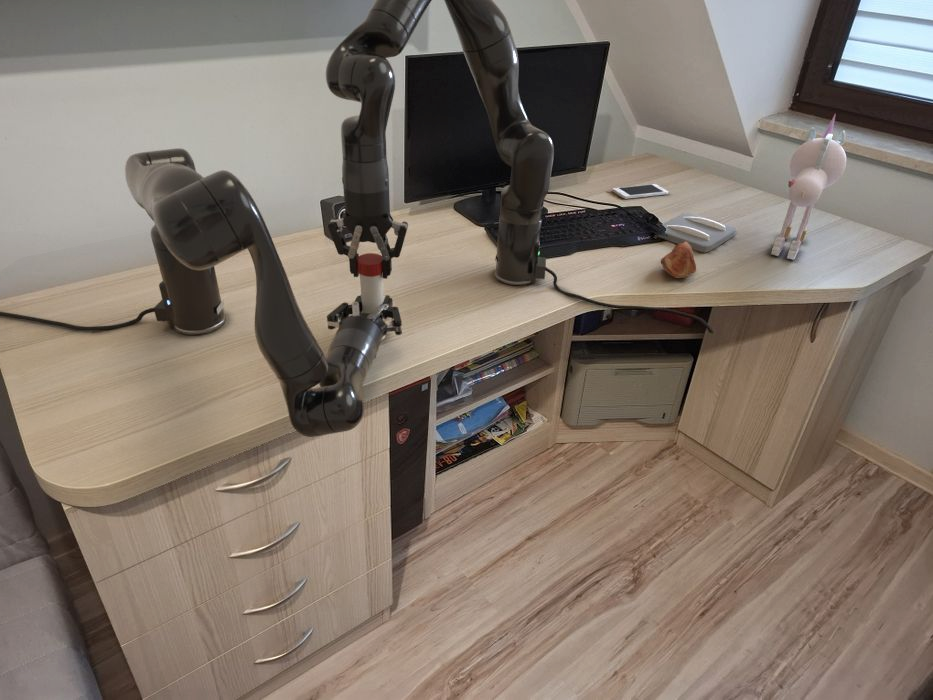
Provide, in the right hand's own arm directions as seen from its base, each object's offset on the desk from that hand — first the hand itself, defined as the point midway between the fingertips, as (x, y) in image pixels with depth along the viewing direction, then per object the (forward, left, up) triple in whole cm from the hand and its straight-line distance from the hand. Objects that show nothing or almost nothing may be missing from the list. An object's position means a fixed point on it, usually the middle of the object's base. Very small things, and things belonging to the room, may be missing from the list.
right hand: (371, 275), depth 115 cm
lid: (0, 0, +3) cm, 3 cm away
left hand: (0, -3, -6) cm, 7 cm away
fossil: (-63, -38, -13) cm, 74 cm away
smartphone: (-61, -92, -13) cm, 111 cm away
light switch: (-71, -62, -13) cm, 95 cm away
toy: (-97, -64, -13) cm, 117 cm away
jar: (0, 0, -13) cm, 13 cm away
